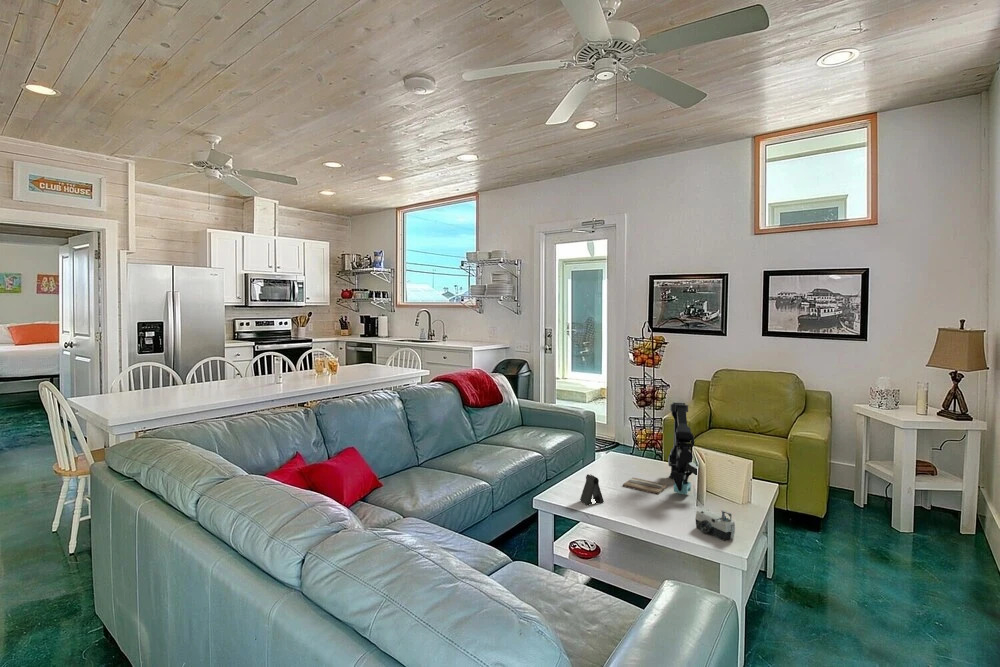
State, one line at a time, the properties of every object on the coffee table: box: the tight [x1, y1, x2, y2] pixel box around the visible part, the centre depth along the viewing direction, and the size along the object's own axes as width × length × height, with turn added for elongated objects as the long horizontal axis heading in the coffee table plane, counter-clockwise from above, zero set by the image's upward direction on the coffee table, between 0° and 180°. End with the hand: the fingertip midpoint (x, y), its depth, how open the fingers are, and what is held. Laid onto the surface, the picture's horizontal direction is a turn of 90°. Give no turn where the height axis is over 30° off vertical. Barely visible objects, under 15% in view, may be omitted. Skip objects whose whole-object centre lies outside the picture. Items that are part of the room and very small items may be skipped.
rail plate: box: [622, 477, 669, 495], centre depth 253 cm, size 13×18×2 cm
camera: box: [694, 508, 736, 542], centre depth 200 cm, size 15×8×10 cm, turn 28°
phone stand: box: [579, 473, 605, 506], centre depth 232 cm, size 9×6×12 cm, turn 112°
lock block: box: [673, 481, 692, 495], centre depth 242 cm, size 6×6×4 cm
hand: (682, 488), depth 242 cm, fingers closed on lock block, 6 cm apart
